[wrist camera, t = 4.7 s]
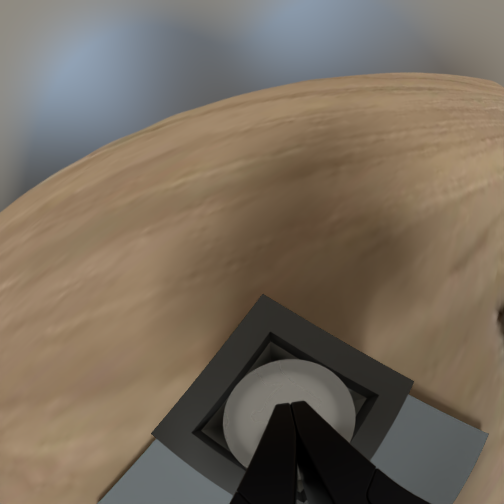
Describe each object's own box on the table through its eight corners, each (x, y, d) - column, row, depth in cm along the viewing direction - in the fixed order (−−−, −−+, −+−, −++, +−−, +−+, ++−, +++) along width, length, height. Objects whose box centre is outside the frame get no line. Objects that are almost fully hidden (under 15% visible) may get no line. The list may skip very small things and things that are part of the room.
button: (337, 404, 12) (378, 397, 7) (292, 467, 11) (306, 501, 6) (272, 366, 14) (273, 335, 9) (226, 426, 12) (196, 433, 7)
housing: (361, 396, 14) (414, 381, 9) (295, 490, 12) (310, 534, 6) (266, 339, 17) (262, 293, 11) (197, 427, 14) (150, 433, 8)
